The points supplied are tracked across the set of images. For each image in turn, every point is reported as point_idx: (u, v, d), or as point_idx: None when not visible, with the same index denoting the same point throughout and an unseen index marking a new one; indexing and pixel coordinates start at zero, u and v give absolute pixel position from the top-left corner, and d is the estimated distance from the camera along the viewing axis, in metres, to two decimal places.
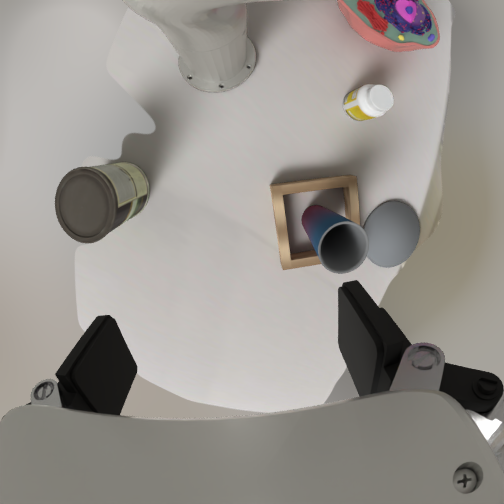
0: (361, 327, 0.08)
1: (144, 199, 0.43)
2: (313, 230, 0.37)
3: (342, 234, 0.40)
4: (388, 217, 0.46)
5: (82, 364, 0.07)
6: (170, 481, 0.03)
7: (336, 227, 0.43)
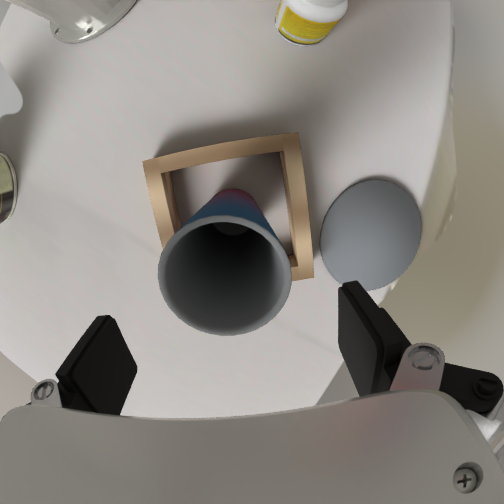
0: (361, 327, 0.08)
1: (7, 197, 0.23)
2: None
3: (263, 241, 0.21)
4: (367, 207, 0.27)
5: (82, 364, 0.07)
6: (170, 481, 0.03)
7: None
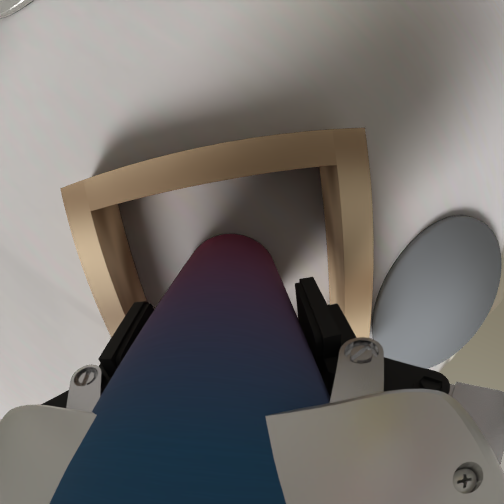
0: (307, 320, 0.08)
1: None
2: None
3: None
4: (446, 261, 0.15)
5: (126, 348, 0.08)
6: None
7: None
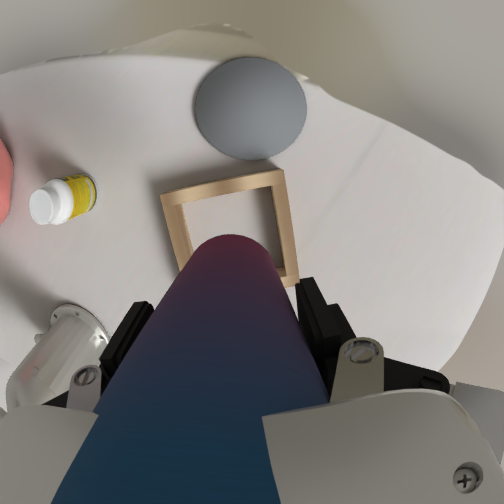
0: (307, 320, 0.08)
1: None
2: None
3: None
4: (221, 120, 0.29)
5: (126, 348, 0.08)
6: None
7: None
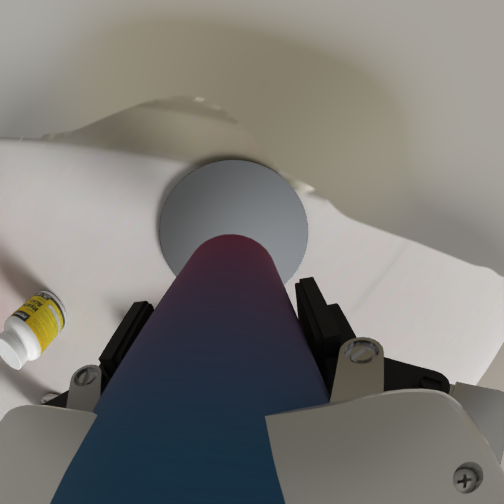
0: (307, 320, 0.08)
1: None
2: None
3: None
4: None
5: (126, 347, 0.08)
6: None
7: None
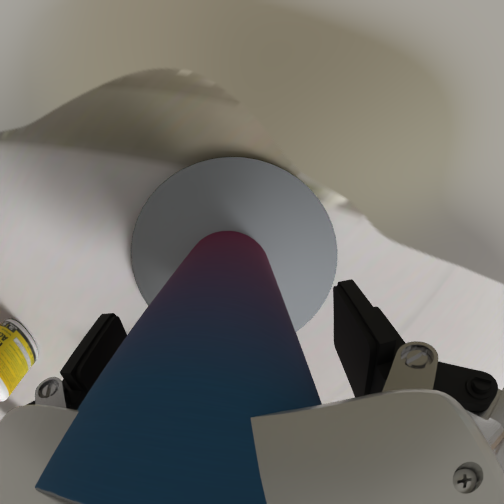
0: (355, 326, 0.08)
1: None
2: None
3: None
4: None
5: (87, 362, 0.07)
6: None
7: None
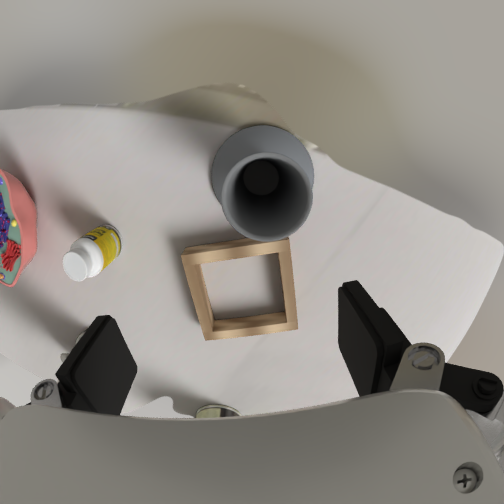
0: (361, 327, 0.08)
1: (223, 413, 0.49)
2: None
3: (288, 191, 0.28)
4: None
5: (82, 364, 0.07)
6: (170, 481, 0.03)
7: (284, 184, 0.30)
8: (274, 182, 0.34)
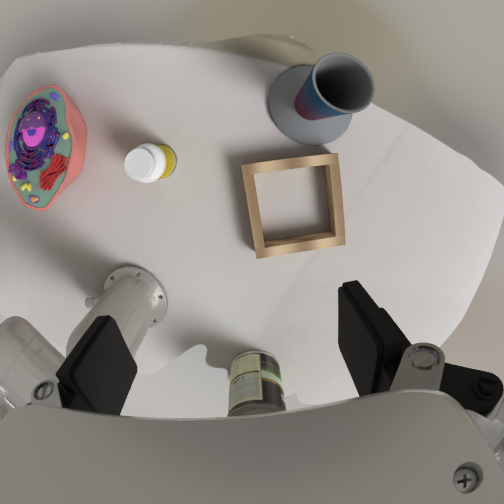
0: (361, 327, 0.08)
1: (263, 358, 0.50)
2: (306, 79, 0.26)
3: (342, 103, 0.30)
4: (289, 112, 0.37)
5: (82, 364, 0.07)
6: (170, 481, 0.03)
7: (334, 103, 0.33)
8: None
